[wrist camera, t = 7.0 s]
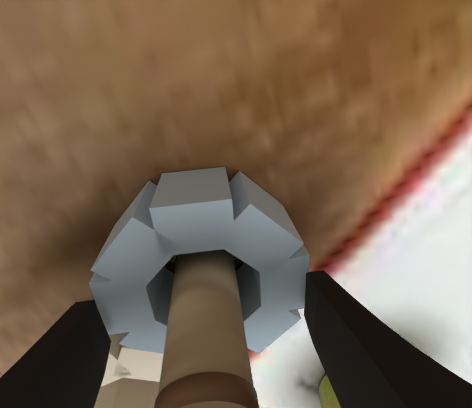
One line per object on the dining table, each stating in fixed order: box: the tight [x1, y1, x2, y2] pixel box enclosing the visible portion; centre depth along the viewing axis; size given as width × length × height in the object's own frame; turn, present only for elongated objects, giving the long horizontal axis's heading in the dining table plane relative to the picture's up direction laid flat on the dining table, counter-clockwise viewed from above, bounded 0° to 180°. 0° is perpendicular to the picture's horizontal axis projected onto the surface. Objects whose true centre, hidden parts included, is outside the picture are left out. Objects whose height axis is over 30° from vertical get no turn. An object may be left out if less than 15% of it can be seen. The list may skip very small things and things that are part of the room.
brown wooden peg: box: [154, 249, 259, 408], centre depth 9 cm, size 2×2×8 cm
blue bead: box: [89, 167, 310, 354], centre depth 12 cm, size 8×8×3 cm
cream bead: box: [94, 309, 163, 408], centre depth 14 cm, size 8×8×3 cm
